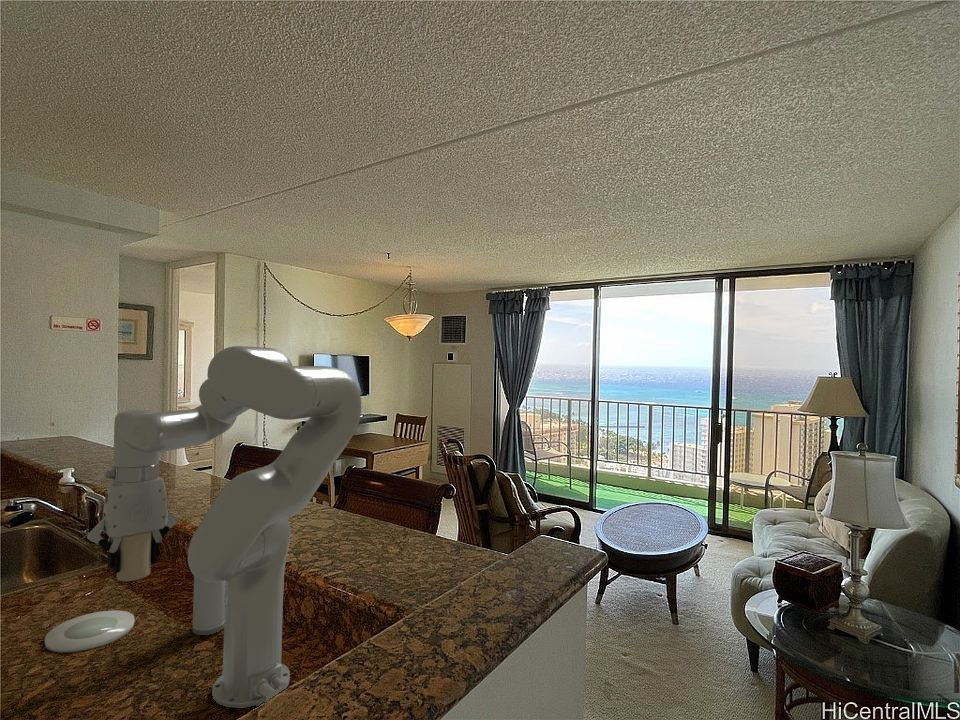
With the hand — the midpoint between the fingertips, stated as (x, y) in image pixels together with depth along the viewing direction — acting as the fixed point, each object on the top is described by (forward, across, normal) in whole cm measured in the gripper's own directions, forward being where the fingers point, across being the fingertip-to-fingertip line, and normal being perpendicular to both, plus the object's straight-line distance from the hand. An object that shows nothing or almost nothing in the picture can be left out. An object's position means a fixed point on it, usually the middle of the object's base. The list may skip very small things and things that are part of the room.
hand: (133, 565), depth 101 cm
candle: (+2, 0, 0) cm, 2 cm away
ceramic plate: (+17, -3, +15) cm, 23 cm away
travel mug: (+17, +14, -1) cm, 22 cm away
